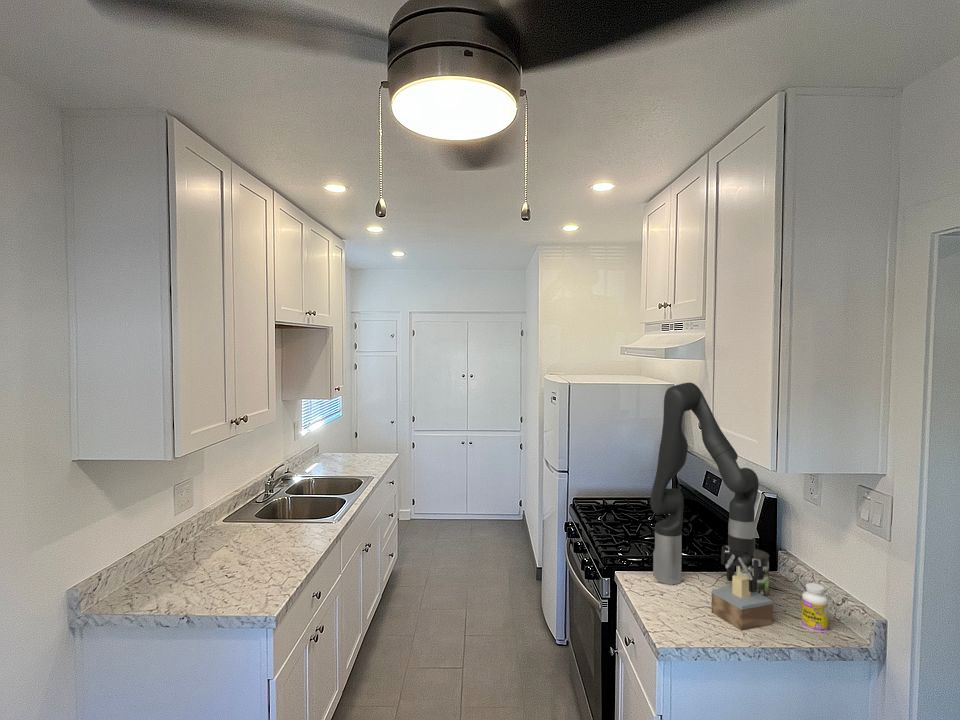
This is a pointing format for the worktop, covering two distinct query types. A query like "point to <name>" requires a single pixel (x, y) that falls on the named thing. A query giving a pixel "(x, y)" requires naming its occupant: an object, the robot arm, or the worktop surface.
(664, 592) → the worktop surface
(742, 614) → the box
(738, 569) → the coffee can
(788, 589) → the worktop surface
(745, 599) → the lid
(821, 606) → the supplement bottle
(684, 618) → the worktop surface
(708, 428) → the robot arm
